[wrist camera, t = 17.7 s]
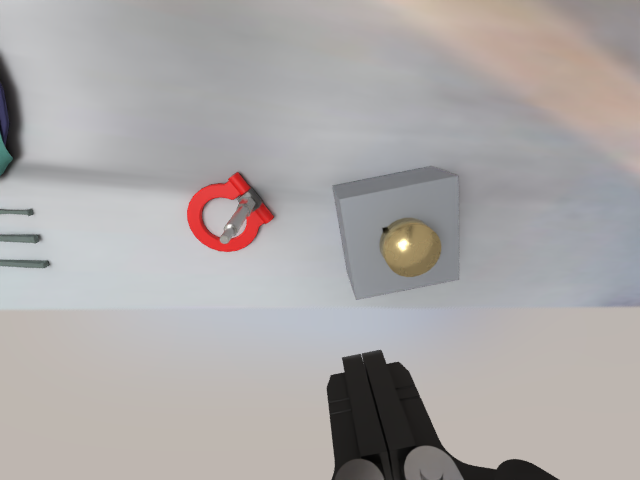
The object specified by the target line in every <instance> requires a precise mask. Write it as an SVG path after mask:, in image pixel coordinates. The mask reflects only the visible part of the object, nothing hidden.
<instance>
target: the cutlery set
mask: <svg viewBox="0 0 640 480" xmlns="http://www.w3.org/2000/svg"><path fill="white" fill-rule="evenodd" d="M9 124H10V123H9V117H8V111H7V106H6V100H5V94H4V89H3V87H2V85H1V83H0V176H1V175H2V174H3V173H4V171H5V169H6V167H7V166H8V164H9V163H10V162H11V161H12V160H13V158H12V156H11V155H10V154H9V152H8V151H7V149H6V148H5V145H6V140H7V135H8V129H9ZM0 214H24V215H28V216H30V215H33V210H32V209H29V210H0ZM0 241H4V242H23V243H37V242H39V239H38V236H37V235H0ZM0 266H9V267H25V268H45V267H47V266H49V263H48V261H27V260H0Z"/></svg>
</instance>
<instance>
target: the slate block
mask: <svg viewBox="0 0 640 480" xmlns="http://www.w3.org/2000/svg"><path fill="white" fill-rule="evenodd" d="M333 192H334V198H335V204H336V210H337V216H338V221H339V227H340V233H341V239H342V245H343V251H344V257H345V262H346V268H347V274H348V277H349V280H350V283H351V286H352V289H353V292H354V295H355V298H356V300H359V299H364V298H369V297H374V296H379V295H384V294H389V293H394V292H399V291H404V290H409V289H414V288H419V287H424V286H429V285H434V284H439V283H444V282H449V281H454V280H459V185H458V175H455V174H452V173H450V172H447V171H444V170H441V169H438V168H436V167H433V166H429V167H424V168H419V169H414V170H409V171H404V172H399V173H394V174H389V175H384V176H379V177H374V178H369V179H364V180H359V181H354V182H349V183H344V184H339V185H334V186H333ZM402 218H416V219H418V220H421V221H422V222H423V223H425V224H426V225H427V226H428V227H430V228H431V229H432V230H433V231H434V232H435V233H436V234H437V235H438V237H439V239H440V241H441V254H440V257H439V259H438V261H437V263H436V264H435V265H434V266H433V267H432V268H431V269H430V270H429V271H427V272H426V273H424V274H422V275H419V276H415V277H404V276H400V275H398V274H396V273H395V272H393V271H392V270H391V269H390V267H389V266H388V264H387V263H386V261H385V259H384V258H383V256H382V254H381V252H380V247H379V243H380V238H381V235H382V233H383V230H382V228H385V227H388V226H389V225H390V224H391V223H393V222H394V221H396V220H398V219H402Z"/></svg>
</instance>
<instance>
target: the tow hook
mask: <svg viewBox="0 0 640 480" xmlns="http://www.w3.org/2000/svg"><path fill="white" fill-rule="evenodd" d="M228 180H229V181H228V182H227V183H225V184H222V183H218V184H211V185H209V186H206V187H204V188H202V189H201V190H200V191H198V192H197V193H196V194H195V195H194V196H193V198H192V199H191V201H190V203H189V206H188V210H187V219H188V223H189V226H190V229H191V230H192V232H193V234H194V235H195V237H196V238H197V239H198V240H199V241H200V242H201V243H203V244H204V245H206V246H208V247H209V248H212V249H215V250H218V251H224V252H231V251H237V250H240V249H242V248H245V247H246V246H247V245H248V244H250V243H251V242H252V241H253V239H254V238H255V237H256V235H257V232H258V229H259V226H261V225H262V224H264V223H265V224H266V223H268V222H270V221H271V220H272V219H273V218H274V216H273V215H272V214H271V212H270V211H269V210H268V209H267V207H266V206H265V205H264V204H263V203H262V200H261V199H260V197H259V196H258V195H257V194H256V193H255V191H254V190H253V189H252V188H250V186H249V185H248V184H247V183H246V182H245V180H244V179H243V178H242V177H241V175H240V174H239V173H238V172H237V173H235V174H233V175H232V176H231V177H230V178H229V179H228ZM239 195H241V196H240V197H239V198H238V199H237V200H238V202H239V205H238V207H237V210H236V212H235V213H234V215H233V216H232V217H231V219H230V220H229V221H228V223H227V224H226V225H225V227H224V233H223V234H222V235H221V237H217V236H215V235H213V234H212V233H210V232H209V231H208V230H207V228H206V227H205V225H204V223H203V220H202V210H203V207H204V205H205V204H206V203H207V202H208V201H209V200H211V199H214V198H219V197H222V198H228V199H231V200H234V199H235V198H237V197H238V196H239ZM245 219H247V225H246V228H245V230H244V232H243V233H242V234H240V235H239V236H237V237H235V238H232V236H235V235H236V234H237V233H238V231H239V229H240V228H241V226H242V224H243V223H244V221H245Z"/></svg>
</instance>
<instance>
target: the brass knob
mask: <svg viewBox="0 0 640 480" xmlns="http://www.w3.org/2000/svg"><path fill="white" fill-rule="evenodd" d="M382 230H383V233H382V235H381V238H380V243H379V247H380V252H381V254H382V256H383V258H384V259H385V261H386V263H387V264H388V266H389V267H390V269H391V270H392V271H393V272H395V273H396V274H398V275H400V276H404V277H415V276H419V275H422V274H424V273H426V272H427V271H429V270H430V269H431V268H432V267H433V266H434V265H435V264H436V263H437V261H438V259H439V257H440V254H441V241H440V239H439V237H438V235H437V234H436V233H435V232H434V231H433V230H432V229H431V228H430V227H428V226H427V225H426V224H425V223H423V222H422V221H421V220H418V219H416V218H402V219H398V220H396V221H394V222H393V223H391V224H390V225H389V226H388V227H385V228H382Z"/></svg>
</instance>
